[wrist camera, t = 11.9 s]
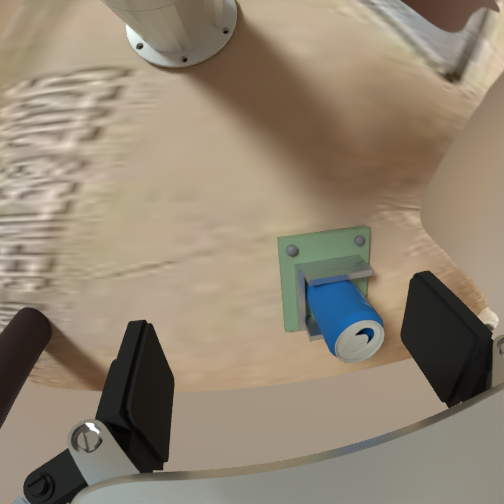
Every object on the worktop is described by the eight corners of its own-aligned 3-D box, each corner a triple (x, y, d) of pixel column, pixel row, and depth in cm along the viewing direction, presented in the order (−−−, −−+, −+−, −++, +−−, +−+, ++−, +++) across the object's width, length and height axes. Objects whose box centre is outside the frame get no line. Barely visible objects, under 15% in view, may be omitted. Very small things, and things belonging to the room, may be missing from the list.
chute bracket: (294, 264, 39) (302, 281, 35) (358, 254, 40) (372, 269, 35) (297, 322, 43) (304, 342, 39) (355, 311, 43) (367, 329, 39)
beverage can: (358, 282, 41) (398, 333, 30) (327, 316, 43) (356, 373, 32) (326, 257, 39) (363, 306, 28) (294, 294, 41) (318, 352, 30)
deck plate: (277, 237, 39) (279, 241, 37) (366, 225, 39) (371, 229, 38) (284, 328, 44) (286, 333, 43) (361, 313, 45) (365, 318, 44)
